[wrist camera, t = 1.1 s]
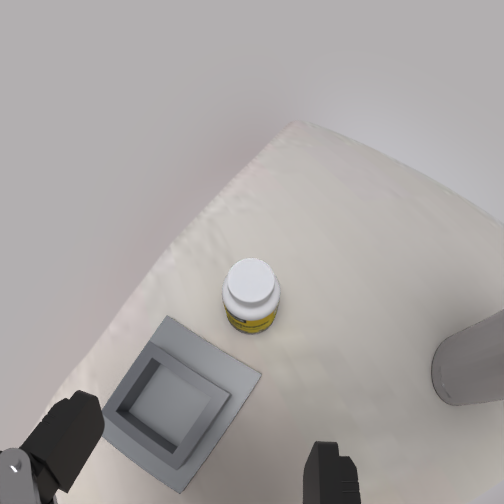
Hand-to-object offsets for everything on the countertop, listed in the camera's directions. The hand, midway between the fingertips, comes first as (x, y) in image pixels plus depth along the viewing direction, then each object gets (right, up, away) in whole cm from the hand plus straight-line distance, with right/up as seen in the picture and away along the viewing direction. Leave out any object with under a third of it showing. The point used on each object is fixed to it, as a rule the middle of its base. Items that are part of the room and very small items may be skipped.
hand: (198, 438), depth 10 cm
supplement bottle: (+2, 0, +25) cm, 25 cm away
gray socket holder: (-6, -10, +20) cm, 23 cm away
